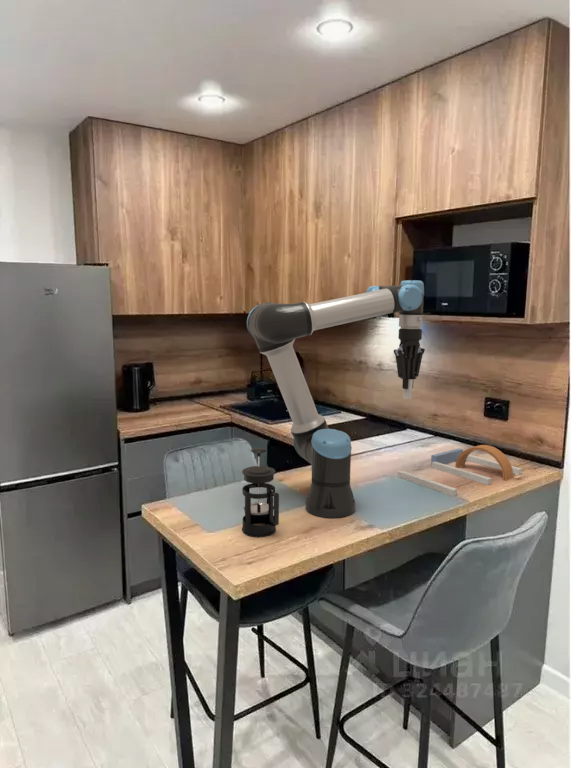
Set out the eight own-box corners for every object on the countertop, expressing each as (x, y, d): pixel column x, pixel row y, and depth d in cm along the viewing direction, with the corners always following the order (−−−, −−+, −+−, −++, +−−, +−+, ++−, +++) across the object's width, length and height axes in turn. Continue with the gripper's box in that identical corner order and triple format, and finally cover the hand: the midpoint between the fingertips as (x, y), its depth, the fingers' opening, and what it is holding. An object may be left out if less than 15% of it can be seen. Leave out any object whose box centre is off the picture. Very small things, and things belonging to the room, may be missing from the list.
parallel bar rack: (453, 496, 172) (453, 484, 171) (393, 475, 192) (393, 464, 192) (521, 473, 195) (522, 463, 194) (461, 457, 216) (462, 447, 215)
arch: (463, 465, 206) (464, 440, 204) (513, 478, 191) (515, 451, 189) (455, 467, 202) (456, 442, 200) (505, 481, 187) (507, 454, 185)
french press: (232, 530, 145) (232, 449, 142) (255, 519, 152) (255, 442, 149) (265, 542, 138) (265, 457, 134) (287, 530, 145) (288, 449, 142)
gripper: (405, 328, 168) (402, 401, 171) (432, 328, 175) (428, 398, 179) (388, 327, 174) (385, 398, 177) (414, 327, 181) (411, 394, 185)
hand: (407, 398), depth 178 cm, fingers closed
